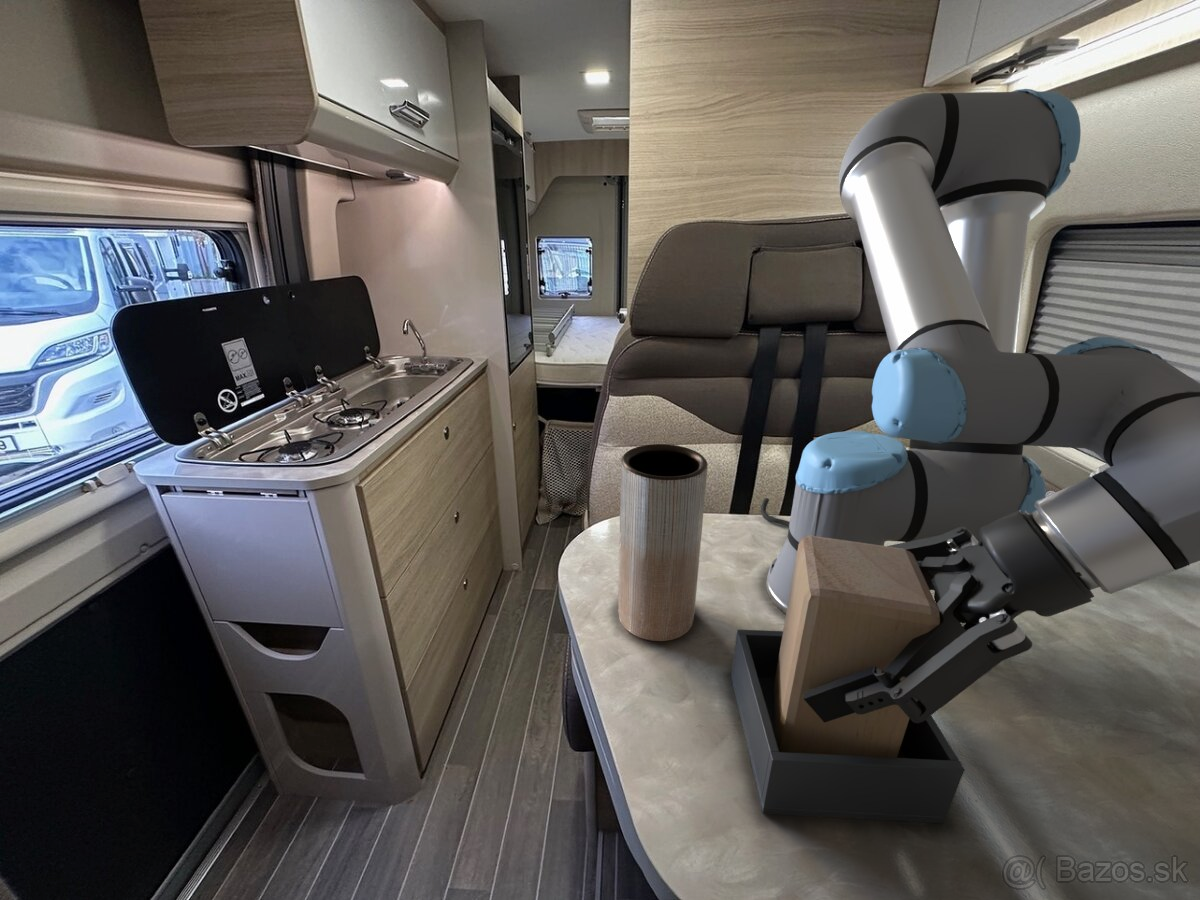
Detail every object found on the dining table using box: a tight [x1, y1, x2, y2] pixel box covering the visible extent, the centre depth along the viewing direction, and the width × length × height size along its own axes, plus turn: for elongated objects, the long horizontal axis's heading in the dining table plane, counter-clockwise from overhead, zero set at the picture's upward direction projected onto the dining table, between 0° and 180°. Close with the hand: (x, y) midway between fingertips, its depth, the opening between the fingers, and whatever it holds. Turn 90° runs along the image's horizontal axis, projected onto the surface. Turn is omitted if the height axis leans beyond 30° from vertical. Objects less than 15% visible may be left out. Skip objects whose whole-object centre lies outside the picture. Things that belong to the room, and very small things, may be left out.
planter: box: [617, 443, 708, 642], centre depth 66 cm, size 10×10×23 cm
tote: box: [730, 629, 965, 824], centre depth 52 cm, size 16×16×7 cm
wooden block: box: [774, 536, 940, 758], centre depth 49 cm, size 10×10×20 cm
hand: (814, 652), depth 50 cm, fingers open, 13 cm apart
